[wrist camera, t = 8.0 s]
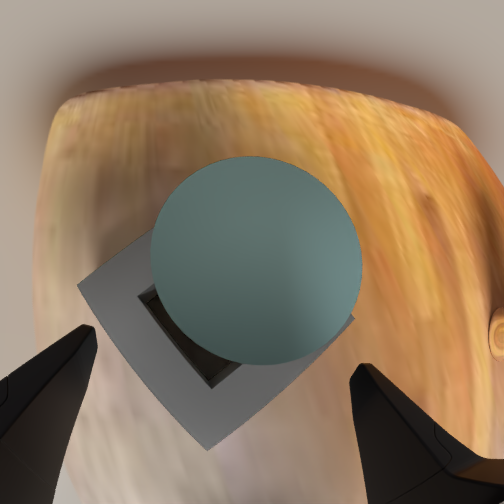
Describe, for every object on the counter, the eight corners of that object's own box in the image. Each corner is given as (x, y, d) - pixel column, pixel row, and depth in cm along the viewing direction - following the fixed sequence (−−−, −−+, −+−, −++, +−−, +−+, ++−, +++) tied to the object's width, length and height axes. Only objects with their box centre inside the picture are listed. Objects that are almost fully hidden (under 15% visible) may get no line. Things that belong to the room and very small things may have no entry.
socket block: (332, 322, 19) (354, 318, 16) (204, 433, 15) (207, 450, 12) (228, 197, 20) (234, 174, 17) (93, 294, 16) (76, 285, 13)
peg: (260, 318, 18) (393, 268, 6) (210, 359, 17) (252, 411, 4) (219, 268, 18) (272, 129, 6) (168, 307, 17) (108, 228, 5)
